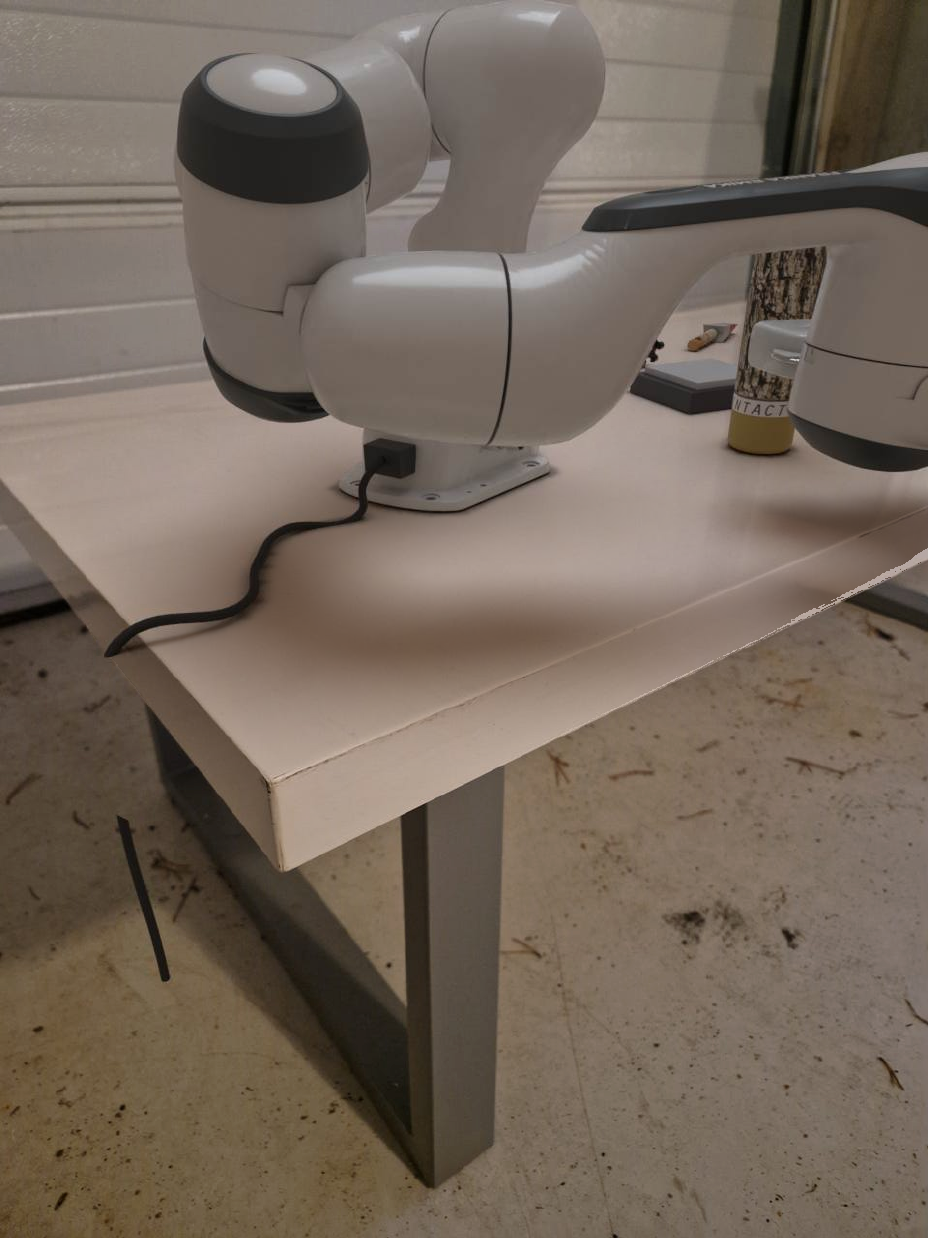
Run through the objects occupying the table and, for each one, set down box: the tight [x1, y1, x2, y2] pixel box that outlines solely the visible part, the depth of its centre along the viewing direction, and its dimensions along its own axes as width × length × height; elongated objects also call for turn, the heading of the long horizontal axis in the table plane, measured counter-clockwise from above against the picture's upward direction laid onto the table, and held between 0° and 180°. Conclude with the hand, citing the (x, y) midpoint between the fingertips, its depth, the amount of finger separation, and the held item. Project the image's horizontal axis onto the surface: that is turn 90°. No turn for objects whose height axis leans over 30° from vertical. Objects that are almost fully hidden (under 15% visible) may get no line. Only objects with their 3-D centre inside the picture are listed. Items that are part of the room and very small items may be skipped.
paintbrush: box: [686, 322, 739, 352], centre depth 144 cm, size 4×3×20 cm
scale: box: [629, 357, 738, 415], centre depth 110 cm, size 13×13×4 cm
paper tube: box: [727, 246, 827, 455], centre depth 85 cm, size 7×7×25 cm
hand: (831, 328), depth 75 cm, fingers open, 8 cm apart
